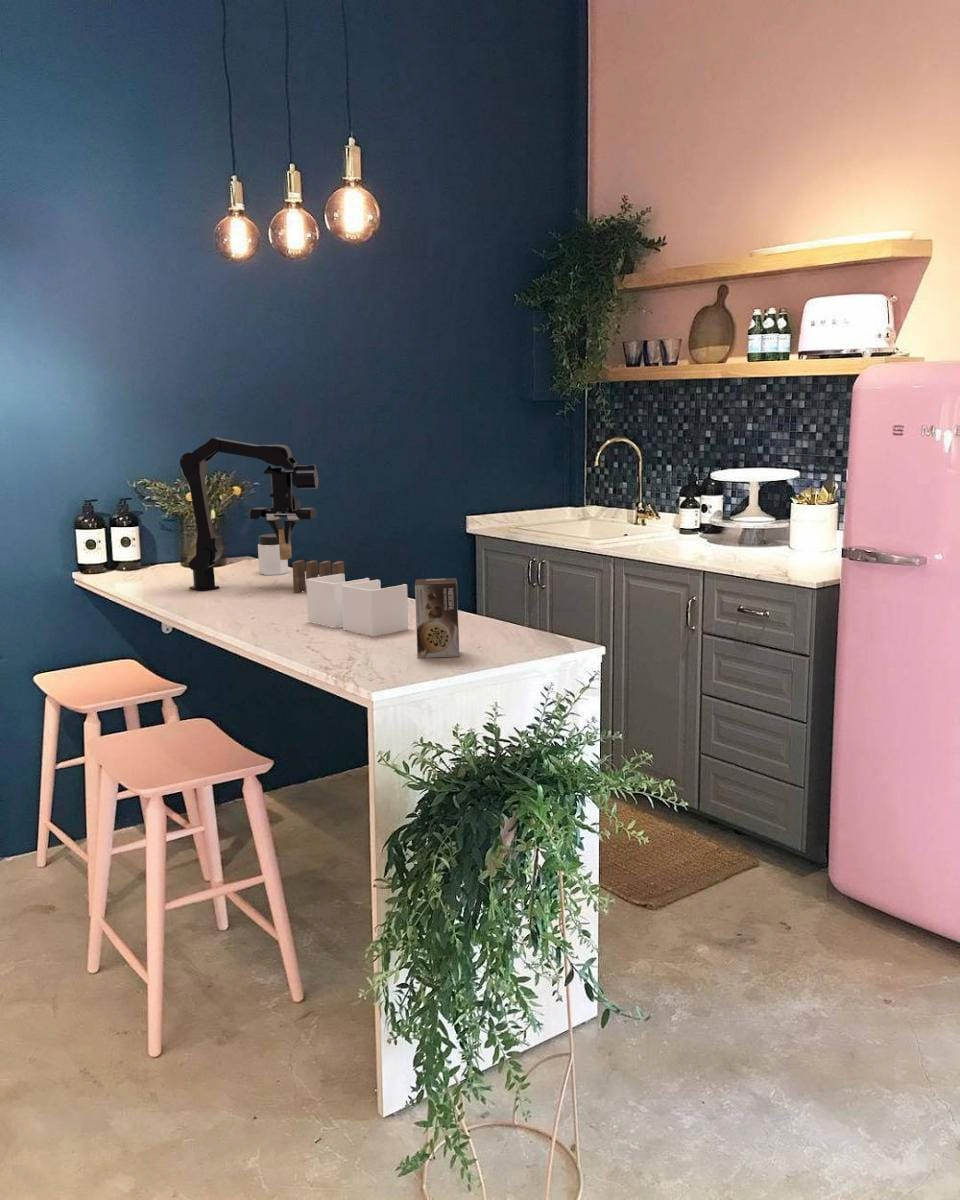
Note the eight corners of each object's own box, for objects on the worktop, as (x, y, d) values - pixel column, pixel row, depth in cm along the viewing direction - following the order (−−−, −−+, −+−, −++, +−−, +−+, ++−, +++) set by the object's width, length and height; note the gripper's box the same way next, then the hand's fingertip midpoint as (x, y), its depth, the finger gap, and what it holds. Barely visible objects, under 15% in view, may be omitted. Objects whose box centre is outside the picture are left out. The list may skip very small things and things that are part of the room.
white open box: (308, 622, 277) (306, 579, 275) (343, 616, 284) (341, 573, 282) (372, 637, 259) (371, 590, 257) (408, 629, 267) (407, 584, 265)
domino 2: (293, 593, 317) (292, 562, 315) (300, 590, 321) (299, 560, 320) (299, 593, 316) (297, 562, 315) (305, 590, 321) (304, 560, 319)
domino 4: (320, 594, 315) (318, 563, 313) (326, 591, 319) (325, 560, 318) (325, 594, 314) (324, 563, 313) (331, 591, 319) (330, 560, 317)
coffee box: (458, 650, 244) (457, 577, 241) (459, 657, 238) (458, 582, 235) (417, 651, 244) (415, 578, 241) (416, 658, 237) (414, 583, 234)
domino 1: (280, 559, 322) (278, 529, 320) (286, 557, 326) (285, 527, 325) (285, 560, 321) (283, 529, 320) (291, 557, 326) (290, 527, 324)
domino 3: (306, 593, 316) (305, 562, 314) (313, 590, 320) (312, 560, 319) (312, 593, 315) (310, 563, 314) (318, 590, 320) (317, 560, 318)
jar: (269, 570, 358) (267, 533, 356) (292, 571, 356) (290, 534, 353) (254, 574, 350) (252, 536, 348) (277, 575, 347) (275, 537, 345)
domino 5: (333, 594, 314) (332, 563, 312) (339, 591, 318) (338, 561, 317) (338, 594, 313) (337, 563, 312) (345, 591, 318) (343, 561, 316)
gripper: (322, 486, 325) (325, 540, 328) (262, 486, 330) (265, 539, 332) (308, 490, 315) (311, 545, 318) (246, 490, 319) (250, 544, 322)
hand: (284, 543), depth 323 cm, fingers closed on domino 1, 2 cm apart
